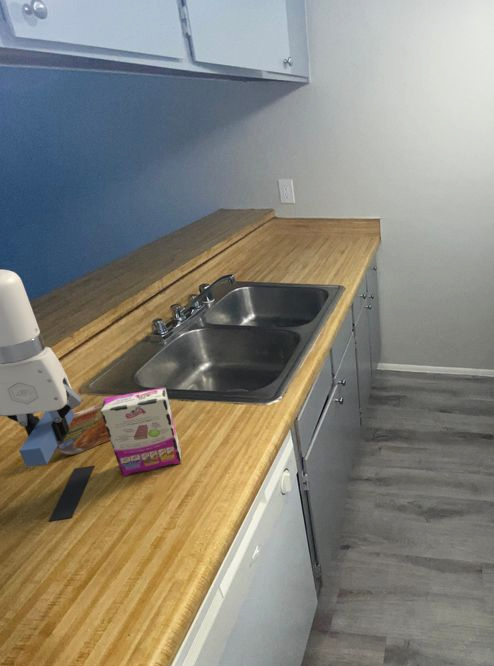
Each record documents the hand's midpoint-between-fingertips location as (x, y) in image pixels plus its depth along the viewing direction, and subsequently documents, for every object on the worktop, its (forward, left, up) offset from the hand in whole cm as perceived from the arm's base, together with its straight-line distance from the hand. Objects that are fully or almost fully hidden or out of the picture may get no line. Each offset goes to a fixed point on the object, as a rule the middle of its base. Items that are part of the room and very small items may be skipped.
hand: (51, 437), depth 84 cm
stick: (0, 0, -1) cm, 1 cm away
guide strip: (0, +1, -14) cm, 14 cm away
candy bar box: (+13, +6, -14) cm, 20 cm away
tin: (0, +16, -14) cm, 21 cm away
